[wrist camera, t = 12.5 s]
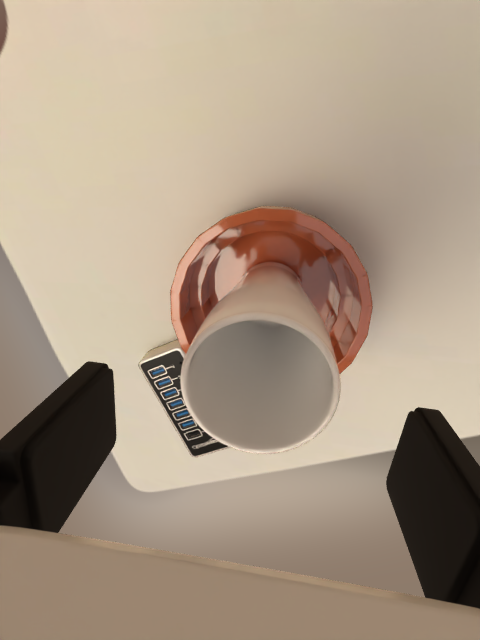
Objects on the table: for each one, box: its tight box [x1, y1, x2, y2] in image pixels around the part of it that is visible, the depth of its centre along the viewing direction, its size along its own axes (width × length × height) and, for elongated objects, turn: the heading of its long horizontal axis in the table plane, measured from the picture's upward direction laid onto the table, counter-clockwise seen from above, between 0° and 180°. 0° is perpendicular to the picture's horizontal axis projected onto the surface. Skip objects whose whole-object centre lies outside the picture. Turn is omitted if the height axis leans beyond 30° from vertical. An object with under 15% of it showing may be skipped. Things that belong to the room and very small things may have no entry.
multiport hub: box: [138, 340, 230, 457], centre depth 32 cm, size 4×11×2 cm, turn 24°
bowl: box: [170, 206, 373, 374], centre depth 26 cm, size 13×13×6 cm
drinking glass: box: [180, 262, 341, 454], centre depth 21 cm, size 7×7×15 cm
